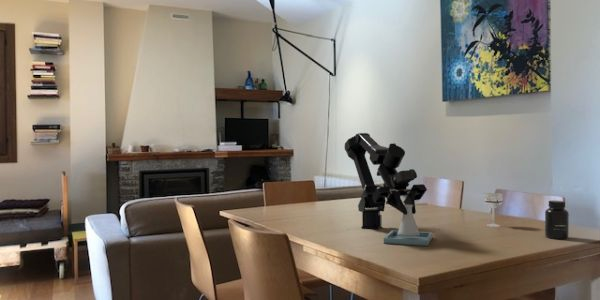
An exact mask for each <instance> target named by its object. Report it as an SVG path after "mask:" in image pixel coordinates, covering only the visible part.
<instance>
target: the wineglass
mask: <svg viewBox="0 0 600 300" xmlns="http://www.w3.org/2000/svg"><path fill="white" fill-rule="evenodd" d="M483 195H484V197H483V202H484V204H485V205H486V206H487V207H489V208H490V209H492V223H489V224H486V226H488V227H491V228H492V227H494V228H498V227H501V225H500V224H497V223H495V209H496V208H498V207H500V206H501V205H502V204H503V201H504V197H503V193H501V192H500V193H497V192H487V193H485V192H484V193H483Z"/></svg>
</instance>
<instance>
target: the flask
mask: <svg viewBox="0 0 600 300" xmlns="http://www.w3.org/2000/svg"><path fill="white" fill-rule="evenodd" d="M404 206H405V208H406V210H407V215H405V214H403V213H402V218H401V220H400V221H401V222H400V224H399V228H398V230H397V231H398V233H397V235H399V236H403V237H414V236H419V235H420V232H421V231H420V230H419V228H418V225H417V223H416V220H415V217H414V214H413V213H412V207H413V205H410V204H404Z"/></svg>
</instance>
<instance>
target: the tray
mask: <svg viewBox="0 0 600 300" xmlns="http://www.w3.org/2000/svg"><path fill="white" fill-rule="evenodd" d="M419 232H420V235H419V236H414V237H403V236H399V235H397V233H398V230H394V229H392V230H391V231H389V233H388V234H386V235H385V236H384V237H383V244H384V245H385V244H386V245H387V244H388V245H398V246H399V245H402V246H412V247H413V246H414V247H429V245H430V243H431V241H432V240H433V232H429V231H419Z"/></svg>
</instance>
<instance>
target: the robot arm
mask: <svg viewBox="0 0 600 300" xmlns="http://www.w3.org/2000/svg"><path fill="white" fill-rule="evenodd" d="M388 145H389V146H388V147H387V146H384V145H383V146H382V145H380V144H379V143H378V142H377V141H375V140H374V138H372V137H371V136H370V133H367V132H358V133H356V134H355V135H354V136H352V137H350V138H348V139H346V142H344V151H346V155H347V156H348V158H350V159H351V160H352V161H353V163H354V165H355V169H356V172H357V175H358V178H359V179H358V180H359V181H360V184H361V188H362V193H361V195H360V200H359V203H358V205H357V207H358V211H359V212H361V214H362V217H361V218H362V220H361V221H362V226H361V227H360V228H361V229H374V230H378V229H380V228H381V227H382V226H383V221H382V219H383V216H382V214H381V212H384V211H385V209H386V208H385V207H386V206H385V205H388V206H389V205H390V206H391V207H393V208H394V209H395V210H397V211H399V212H400V213H402V215H403V214H405V215H407V210H406V208H405V206H404V205H405V204H410V205H413V207H412V213H413V215H415V214H416V212H417V211H416V203H415V202H416V201H420V200H421V199H422V198H423V196H424V195H425V193H426V192H427V191H428V189H427V187H426V186H425V184H423V183H421V184H419V183H418V184H413V185H412V187H411V188H407V187H409V186H410V182H412V181H414V180H415V179H416V178H418V175H417V171H416V170H415V168H413V169H411V168H409V170H400V171H398V170H397V169H398V168H399V167H400V165H401V163H402V161H403V159H404V157H405V155H406V151H405V149H403V148H402V147H401V146H399V145H397V144H396V143H395V142H394V143H390V144H388ZM366 153H367V154H369V160H370V162H371V164H372V165H373V166H378V168H377V172H376V176H377V177H380V178H381V179H382V180H383V184H382V185H376V184H375V181H374V179H373V176H372V172H371V170H370V167H369V162H368V160H367V158H366ZM401 197H402V198H404V201H403V200H402V199H401Z"/></svg>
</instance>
